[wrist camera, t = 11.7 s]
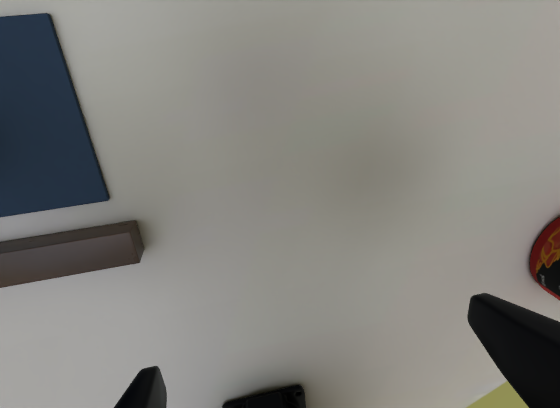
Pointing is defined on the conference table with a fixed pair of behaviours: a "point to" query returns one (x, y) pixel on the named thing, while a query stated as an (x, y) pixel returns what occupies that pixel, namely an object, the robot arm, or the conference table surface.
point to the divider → (69, 253)
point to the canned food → (547, 259)
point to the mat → (41, 124)
